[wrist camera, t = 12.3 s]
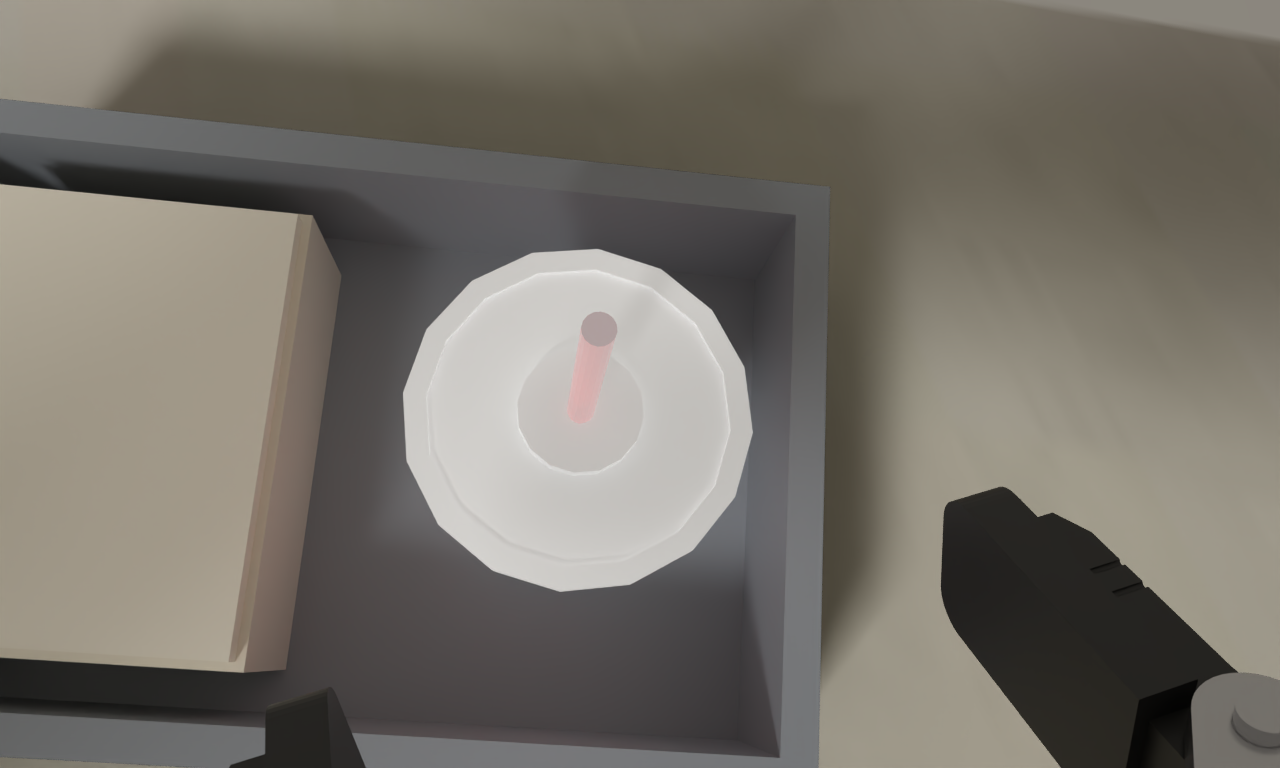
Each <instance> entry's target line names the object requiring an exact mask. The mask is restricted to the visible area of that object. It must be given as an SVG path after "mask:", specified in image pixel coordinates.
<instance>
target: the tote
mask: <svg viewBox="0 0 1280 768" xmlns="http://www.w3.org/2000/svg"><path fill="white" fill-rule="evenodd" d="M0 184H2V185H12V186H22V187H32V188H42V189H53V190H63V191H73V192H83V193H93V194H103V195H113V196H123V197H133V198H143V199H153V200H163V201H173V202H183V203H193V204H203V205H214V206H224V207H234V208H244V209H254V210H264V211H274V212H284V213H294V214H304V215H313V217H314V219H315V221H316V224H317V226H318V228H319V230H320V232H321V234H322V236H323V238H324V240H325V242H326V244H327V246H328V249H329V251H330V253H331V255H332V257H333V259H334V261H335V263H336V265H337V267H338V269H339V271H340V273H341V283H340V290H339V297H338V304H337V311H336V318H335V325H334V332H333V339H332V346H331V353H330V360H329V367H328V374H327V382H326V389H325V396H324V403H323V410H322V417H321V424H320V431H319V438H318V445H317V452H316V459H315V466H314V473H313V481H312V488H311V495H310V502H309V509H308V516H307V523H306V530H305V537H304V544H303V551H302V558H301V565H300V573H299V580H298V587H297V594H296V601H295V608H294V615H293V622H292V629H291V636H290V643H289V650H288V657H287V664H286V670H274V671H260V672H246V673H240V672H224V671H208V670H192V669H176V668H160V667H144V666H128V665H112V664H96V663H80V662H64V661H48V660H32V659H16V658H0V757H10V758H28V759H46V760H65V761H83V762H101V763H120V764H138V765H156V766H175V767H193V768H229V767H230V765H231V764H235V763H238V762H241V761H244V760H247V759H251V758H254V757H257V756H260V755H264V754H265V716H266V709H267V707H268V706H269V705H271V704H275V703H278V702H281V701H285V700H288V699H291V698H295V697H298V696H301V695H305V694H308V693H311V692H314V691H318V690H321V689H324V688H328V687H331V688H333V690H334V691H335V693H336V695H337V698H338V700H339V703H340V705H341V708H342V710H343V712H344V715H345V717H346V720H347V722H348V725H349V727H350V730H351V732H352V735H353V737H354V739H355V742H356V744H357V747H358V749H359V752H360V754H361V757H362V759H363V762H364V764H365V767H366V768H818V760H819V711H820V662H821V613H822V564H823V515H824V466H825V417H826V368H827V319H828V270H829V221H830V187H827V186H818V185H808V184H799V183H789V182H780V181H770V180H761V179H752V178H742V177H733V176H723V175H714V174H704V173H695V172H686V171H676V170H667V169H657V168H648V167H638V166H629V165H620V164H610V163H601V162H591V161H582V160H572V159H563V158H554V157H544V156H535V155H525V154H516V153H506V152H497V151H488V150H478V149H469V148H459V147H450V146H440V145H431V144H422V143H412V142H403V141H393V140H384V139H374V138H365V137H355V136H346V135H337V134H327V133H318V132H308V131H299V130H289V129H280V128H271V127H261V126H252V125H242V124H233V123H223V122H214V121H205V120H195V119H186V118H176V117H167V116H157V115H148V114H139V113H129V112H120V111H110V110H101V109H91V108H82V107H73V106H63V105H54V104H44V103H35V102H25V101H16V100H7V99H0ZM589 249H600V250H603V251H606V252H609V253H612V254H616V255H619V256H622V257H625V258H628V259H631V260H634V261H638V262H641V263H644V264H647V265H650V266H653V267H656V268H659V269H662V270H663V271H664V272H665V273H667V274H668V275H669V276H670V277H672V278H673V279H674V280H675V281H676V282H678V283H679V284H680V285H681V286H683V287H684V288H685V289H686V290H688V291H689V292H690V293H691V294H693V295H694V296H695V297H696V298H698V299H699V300H700V301H701V302H703V303H704V304H705V305H706V306H708V307H709V308H710V309H711V310H712V311H713V313H714V314H715V316H716V318H717V320H718V322H719V323H720V325H721V327H722V329H723V330H724V332H725V334H726V336H727V337H728V339H729V341H730V343H731V344H732V346H733V348H734V350H735V352H736V353H737V355H738V357H739V359H740V360H741V362H742V364H743V366H744V368H745V376H746V383H747V391H748V399H749V407H750V414H751V422H752V430H753V434H752V437H751V441H750V445H749V448H748V452H747V456H746V459H745V463H744V467H743V470H742V474H741V478H740V481H739V485H738V488H737V492H736V496H735V498H734V499H733V500H732V502H731V503H730V504H729V505H728V507H727V508H726V509H725V510H724V512H723V513H722V514H721V515H720V517H719V518H718V519H717V521H716V522H715V523H714V524H713V526H712V527H711V528H710V529H709V531H708V532H707V533H706V534H705V536H704V537H703V538H702V539H701V541H700V542H699V543H698V544H697V546H696V547H695V548H694V550H693V551H691V552H689V553H687V554H686V555H684V556H682V557H680V558H678V559H676V560H675V561H673V562H671V563H669V564H667V565H665V566H664V567H662V568H660V569H658V570H656V571H654V572H653V573H651V574H649V575H647V576H645V577H643V578H642V579H640V580H638V581H636V582H634V583H632V584H631V585H623V586H613V587H603V588H593V589H583V590H573V591H563V592H559V591H556V590H552V589H549V588H546V587H543V586H540V585H536V584H533V583H530V582H527V581H523V580H520V579H517V578H514V577H510V576H507V575H504V574H501V573H498V572H494V571H492V570H491V569H490V568H489V567H487V566H486V565H485V564H484V563H483V562H481V561H480V560H479V559H478V558H477V557H476V556H474V555H473V554H472V553H471V552H470V551H468V550H467V549H466V548H465V547H464V546H463V545H461V544H460V543H459V542H458V541H457V540H455V539H454V538H453V537H452V536H451V535H450V534H448V533H447V532H446V531H445V530H444V529H442V528H441V527H440V526H439V525H438V523H437V521H436V519H435V517H434V515H433V513H432V511H431V509H430V507H429V505H428V503H427V501H426V499H425V497H424V495H423V493H422V491H421V489H420V487H419V485H418V483H417V481H416V479H415V477H414V475H413V473H412V471H411V469H410V467H409V465H408V463H407V460H406V441H405V422H404V403H403V391H404V389H405V386H406V383H407V380H408V378H409V375H410V372H411V370H412V367H413V364H414V361H415V359H416V356H417V353H418V351H419V348H420V345H421V343H422V340H423V337H424V334H425V332H426V329H427V328H428V327H429V326H430V325H431V324H432V323H433V322H434V321H435V320H436V319H437V318H438V316H439V315H440V314H441V313H442V312H443V311H444V310H445V309H446V308H447V307H448V306H449V305H450V304H451V303H452V301H453V300H454V299H455V298H456V297H457V296H458V295H459V294H460V293H461V292H462V291H463V290H464V289H465V288H466V287H467V285H468V284H469V283H470V282H471V281H472V280H475V279H477V278H479V277H481V276H483V275H485V274H488V273H490V272H492V271H494V270H496V269H498V268H501V267H503V266H505V265H507V264H509V263H511V262H513V261H516V260H518V259H520V258H522V257H524V256H526V255H529V254H531V253H538V252H555V251H572V250H589Z"/></svg>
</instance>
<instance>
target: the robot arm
mask: <svg viewBox="0 0 1280 768" xmlns="http://www.w3.org/2000/svg"><path fill="white" fill-rule="evenodd" d="M941 592H942V598H943V602H944V606H945V609H946V612H947V614H948V617H949V619H950V621H951V623H952V625H953V627H954V628H955V630H956V632H957V633H958V635H959V636H960V637H961V638H962V640H963V641H964V642H965V644H966V645H967V646H968V648H969V649H970V650H971V651H972V653H973V654H974V655H975V657H976V658H977V659H978V661H979V662H980V663H981V664H982V666H983V667H984V668H985V670H986V671H987V672H988V673H989V675H990V676H991V677H992V679H993V680H994V681H995V683H996V684H997V685H998V686H999V688H1000V689H1001V690H1002V692H1003V693H1004V694H1005V696H1006V697H1007V698H1008V699H1009V701H1010V702H1011V703H1012V705H1013V706H1014V707H1015V708H1016V710H1017V711H1018V712H1019V714H1020V715H1021V716H1022V718H1023V719H1024V720H1025V721H1026V723H1027V724H1028V725H1029V727H1030V728H1031V729H1032V731H1033V732H1034V733H1035V734H1036V736H1037V737H1038V738H1039V740H1040V741H1041V742H1042V743H1043V745H1044V746H1045V747H1046V749H1047V750H1048V751H1049V753H1050V754H1051V755H1052V756H1053V758H1054V759H1055V760H1056V762H1057V763H1058V764H1059V766H1060V767H1061V768H1280V680H1277V679H1274V678H1271V677H1267V676H1263V675H1259V674H1252V673H1238V672H1237V671H1236V670H1235V669H1234V668H1233V667H1231V666H1230V665H1229V664H1228V663H1227V662H1226V661H1225V660H1224V659H1223V658H1222V657H1221V656H1220V655H1219V654H1218V653H1217V652H1216V651H1215V650H1214V649H1213V648H1211V647H1210V646H1209V645H1208V644H1207V643H1206V642H1205V641H1204V640H1203V639H1202V638H1201V637H1200V636H1199V635H1198V634H1197V633H1196V632H1195V631H1194V630H1193V629H1192V628H1191V627H1190V626H1189V625H1188V624H1186V623H1185V622H1184V621H1183V620H1182V619H1181V618H1180V617H1179V616H1178V615H1177V614H1176V613H1175V612H1174V611H1173V610H1172V609H1171V608H1170V607H1169V606H1168V605H1167V604H1166V603H1165V602H1164V601H1163V600H1161V599H1160V598H1159V597H1158V596H1157V595H1156V594H1155V593H1154V592H1153V591H1152V590H1151V589H1150V588H1149V587H1146V588H1145V587H1144V586H1143V583H1142V580H1141V579H1140V578H1139V577H1138V576H1136V575H1135V574H1134V573H1133V572H1132V571H1131V570H1130V569H1129V568H1128V567H1127V566H1126V565H1121V563H1120V559H1119V558H1118V557H1117V556H1116V555H1115V554H1114V553H1113V552H1111V551H1110V550H1109V549H1108V548H1107V547H1106V546H1105V545H1104V544H1103V543H1102V542H1101V541H1100V540H1099V539H1098V538H1097V537H1096V536H1095V535H1094V534H1093V533H1092V532H1090V531H1088V530H1086V529H1084V528H1082V527H1080V526H1078V525H1076V524H1074V523H1072V522H1070V521H1068V520H1066V519H1064V518H1062V517H1060V516H1058V515H1056V514H1054V513H1050V514H1047V515H1043V516H1040V517H1037V516H1036V515H1035V514H1034V513H1033V512H1032V511H1031V510H1030V509H1029V508H1028V507H1027V506H1026V505H1025V504H1024V503H1023V502H1022V501H1021V500H1020V499H1019V498H1018V497H1017V496H1016V495H1015V494H1014V493H1013V492H1012V491H1011V490H1009V489H1007V488H1005V487H998V488H994V489H991V490H988V491H984V492H981V493H978V494H975V495H971V496H968V497H965V498H961V499H958V500H955V501H951V502H949V503H948V504H947V505H946V507H945V510H944V521H943V547H942V572H941ZM229 768H366V767H365V764H364V762H363V759H362V757H361V754H360V752H359V749H358V747H357V744H356V742H355V739H354V737H353V735H352V732H351V730H350V727H349V725H348V722H347V720H346V717H345V715H344V712H343V710H342V708H341V705H340V703H339V700H338V698H337V695H336V693H335V691H334V690H333V688H331V687H328V688H324V689H321V690H318V691H314V692H311V693H308V694H305V695H301V696H298V697H295V698H291V699H288V700H285V701H281V702H278V703H275V704H271V705H269V706H268V707H267V709H266V716H265V754H264V755H260V756H257V757H254V758H251V759H247V760H244V761H241V762H238V763H235V764H231V765H230V767H229Z"/></svg>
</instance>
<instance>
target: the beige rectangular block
mask: <svg viewBox="0 0 1280 768" xmlns="http://www.w3.org/2000/svg"><path fill="white" fill-rule="evenodd" d="M340 283H341V273H340V271H339V269H338V267H337V265H336V263H335V261H334V259H333V257H332V255H331V253H330V251H329V249H328V246H327V244H326V242H325V240H324V238H323V236H322V234H321V232H320V230H319V228H318V226H317V224H316V221H315V219H314V217H313V215H304V214H294V213H284V212H274V211H264V210H254V209H244V208H234V207H224V206H214V205H203V204H193V203H183V202H173V201H163V200H153V199H143V198H133V197H123V196H113V195H103V194H93V193H83V192H73V191H63V190H53V189H42V188H32V187H22V186H12V185H2V184H0V658H16V659H32V660H48V661H64V662H80V663H96V664H112V665H128V666H144V667H160V668H176V669H192V670H208V671H224V672H240V673H246V672H260V671H274V670H286V664H287V657H288V650H289V643H290V636H291V629H292V622H293V615H294V608H295V601H296V594H297V587H298V580H299V573H300V565H301V558H302V551H303V544H304V537H305V530H306V523H307V516H308V509H309V502H310V495H311V488H312V481H313V473H314V466H315V459H316V452H317V445H318V438H319V431H320V424H321V417H322V410H323V403H324V396H325V389H326V382H327V374H328V367H329V360H330V353H331V346H332V339H333V332H334V325H335V318H336V311H337V304H338V297H339V290H340Z"/></svg>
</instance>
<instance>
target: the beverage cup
mask: <svg viewBox="0 0 1280 768" xmlns="http://www.w3.org/2000/svg"><path fill="white" fill-rule="evenodd" d="M403 403H404V422H405V441H406V460H407V463H408V465H409V467H410V469H411V471H412V473H413V475H414V477H415V479H416V481H417V483H418V485H419V487H420V489H421V491H422V493H423V495H424V497H425V499H426V501H427V503H428V505H429V507H430V509H431V511H432V513H433V515H434V517H435V519H436V521H437V523H438V525H439V526H440V527H441V528H442V529H444V530H445V531H446V532H447V533H448V534H450V535H451V536H452V537H453V538H454V539H455V540H457V541H458V542H459V543H460V544H461V545H463V546H464V547H465V548H466V549H467V550H468V551H470V552H471V553H472V554H473V555H474V556H476V557H477V558H478V559H479V560H480V561H481V562H483V563H484V564H485V565H486V566H487V567H489V568H490V569H491V570H492V571H494V572H498V573H501V574H504V575H507V576H510V577H514V578H517V579H520V580H523V581H527V582H530V583H533V584H536V585H540V586H543V587H546V588H549V589H552V590H556V591H559V592H563V591H573V590H583V589H593V588H603V587H613V586H623V585H631V584H632V583H634V582H636V581H638V580H640V579H642V578H643V577H645V576H647V575H649V574H651V573H653V572H654V571H656V570H658V569H660V568H662V567H664V566H665V565H667V564H669V563H671V562H673V561H675V560H676V559H678V558H680V557H682V556H684V555H686V554H687V553H689V552H691V551H693V550H694V548H695V547H696V546H697V544H698V543H699V542H700V541H701V539H702V538H703V537H704V536H705V534H706V533H707V532H708V531H709V529H710V528H711V527H712V526H713V524H714V523H715V522H716V521H717V519H718V518H719V517H720V515H721V514H722V513H723V512H724V510H725V509H726V508H727V507H728V505H729V504H730V503H731V502H732V500H733V499H734V498H735V496H736V492H737V488H738V485H739V481H740V478H741V474H742V470H743V467H744V463H745V459H746V456H747V452H748V448H749V445H750V441H751V437H752V434H753V430H752V422H751V414H750V407H749V399H748V391H747V383H746V376H745V368H744V366H743V364H742V362H741V360H740V359H739V357H738V355H737V353H736V352H735V350H734V348H733V346H732V344H731V343H730V341H729V339H728V337H727V336H726V334H725V332H724V330H723V329H722V327H721V325H720V323H719V322H718V320H717V318H716V316H715V314H714V313H713V311H712V310H711V309H710V308H709V307H708V306H706V305H705V304H704V303H703V302H701V301H700V300H699V299H698V298H696V297H695V296H694V295H693V294H691V293H690V292H689V291H688V290H686V289H685V288H684V287H683V286H681V285H680V284H679V283H678V282H676V281H675V280H674V279H673V278H672V277H670V276H669V275H668V274H667V273H665V272H664V271H663V270H662V269H659V268H656V267H653V266H650V265H647V264H644V263H641V262H638V261H634V260H631V259H628V258H625V257H622V256H619V255H616V254H612V253H609V252H606V251H603V250H600V249H589V250H572V251H555V252H538V253H531V254H529V255H526V256H524V257H522V258H520V259H518V260H516V261H513V262H511V263H509V264H507V265H505V266H503V267H501V268H498V269H496V270H494V271H492V272H490V273H488V274H485V275H483V276H481V277H479V278H477V279H475V280H472V281H471V282H470V283H469V284H468V285H467V287H466V288H465V289H464V290H463V291H462V292H461V293H460V294H459V295H458V296H457V297H456V298H455V299H454V300H453V301H452V303H451V304H450V305H449V306H448V307H447V308H446V309H445V310H444V311H443V312H442V313H441V314H440V315H439V316H438V318H437V319H436V320H435V321H434V322H433V323H432V324H431V325H430V326H429V327H428V328H427V329H426V332H425V334H424V337H423V340H422V343H421V345H420V348H419V351H418V353H417V356H416V359H415V361H414V364H413V367H412V370H411V372H410V375H409V378H408V380H407V383H406V386H405V389H404V391H403Z"/></svg>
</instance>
